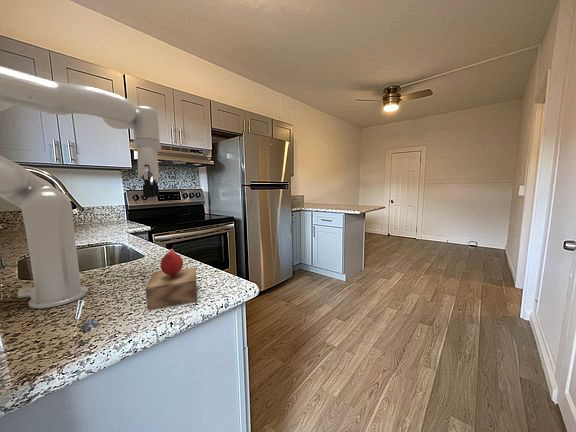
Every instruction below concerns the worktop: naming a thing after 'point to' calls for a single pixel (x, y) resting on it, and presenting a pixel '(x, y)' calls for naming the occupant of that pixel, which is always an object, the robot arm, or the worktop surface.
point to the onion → (171, 263)
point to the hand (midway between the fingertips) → (151, 196)
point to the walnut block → (171, 289)
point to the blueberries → (89, 325)
